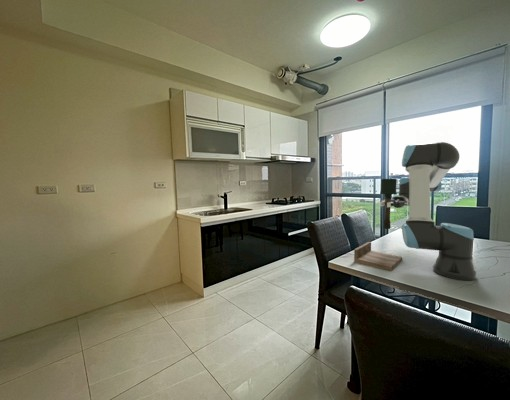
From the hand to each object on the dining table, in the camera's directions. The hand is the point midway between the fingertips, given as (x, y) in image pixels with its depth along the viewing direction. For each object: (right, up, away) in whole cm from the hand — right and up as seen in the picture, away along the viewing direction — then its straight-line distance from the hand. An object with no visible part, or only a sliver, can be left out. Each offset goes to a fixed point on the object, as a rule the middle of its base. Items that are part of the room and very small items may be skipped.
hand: (384, 204), depth 132 cm
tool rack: (-8, -31, -8) cm, 33 cm away
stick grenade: (+4, -15, +5) cm, 16 cm away
